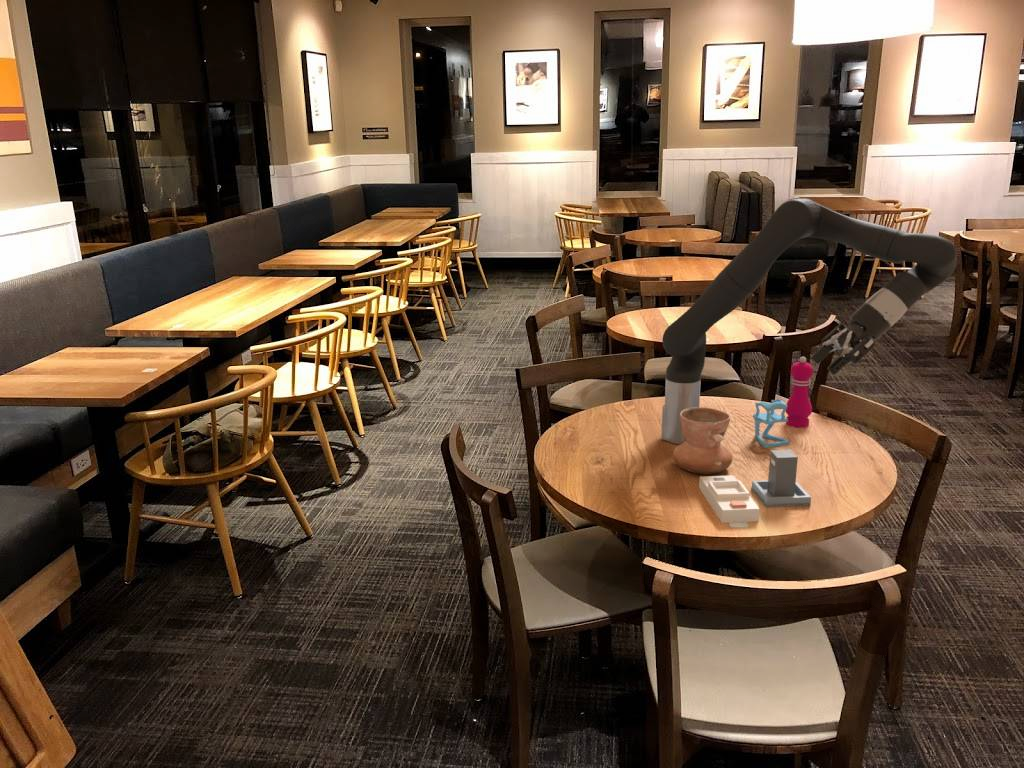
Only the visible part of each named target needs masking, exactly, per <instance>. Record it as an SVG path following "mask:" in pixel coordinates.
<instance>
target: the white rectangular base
mask: <svg viewBox="0 0 1024 768" xmlns="http://www.w3.org/2000/svg"><path fill="white" fill-rule="evenodd" d="M698 485H699V486H698V489H699V490H700V493H702V494H703V497H705V499H706V501H707V503H708V504H709V505H710V507H711V509H712V510H713V511H714V513H715V515H716V516H717V518H718V519H719V520H720V523H721V524H727V523H728V524H729V523H731V524H732V523H752V522H759V521H760V510H761V509H760V508H759V506H758V505H757V503H756V502H755V501H754V500H753V499H752V497H751V496H750V494H751V492H750V491H749V490H748V489H747V488H746V486H745V485H744V484H743V483H742V482H741V480H740V479H737V478H736V477H735V475H734V474H733V475H731V474H730V475H710V476H709V475H708V476H699V484H698Z"/></svg>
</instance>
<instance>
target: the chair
mask: <svg viewBox="0 0 1024 768" xmlns="http://www.w3.org/2000/svg"><path fill="white" fill-rule="evenodd" d="M754 403H755V404H754V405H755V407H756V409H755V410H756V412H755V413H753V414H752V418H753V420H754V432H755V433H754V438H755V439H756V440H757V442H758V443H759V444H760V445H761V446H762V447H763V448H764V449H767V448H776V447H781V446H788V445H790V440H788V439H785V438H782V437H779V436H776V435H773V434H769V432H770V430H771V428H772V427H773V426H774V424H777V423H786V422H787V421H788V418H786V415H785V413H786V408H787V405H786V404H787V403H785V401H784V400H781V399H771V402H770V403H769V402H766V401H760V402H754ZM760 407H762V408H763V409H764V410H765V411H766V412H763V413H760ZM775 410H782V411H781V415H780V414H779V413H777V412H775ZM761 423H762V424H765V425H767V426H766V428H765V429H764V431H763V432H762V436H761V435H760V424H761ZM763 437H764V438H767V439H769V440H772V441H773V440H774V441H776V442H771V443H766V442H765V441H764V439H763Z"/></svg>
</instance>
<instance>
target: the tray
mask: <svg viewBox="0 0 1024 768" xmlns="http://www.w3.org/2000/svg"><path fill="white" fill-rule="evenodd" d="M767 489H768V479H763V480H758V479H757V480H752V481H751V490H752V491H753V492H754V494H756V496H757V497H758V499H760V501H761V502H762V504H764V506H765V507H766V508H773V507H774V508H775V507H776V508H777V507H795V506H797V507H800V506H801V507H802V506H811V503H812V496H811V495H810V494H809V493H808V492H807V491H806V490H805V489H804V487H803V486H801V485H800V484H799V482H797V481H796V483H795V494H794V496H785V497H772V496H771V494H770V493H769V492H768V490H767Z"/></svg>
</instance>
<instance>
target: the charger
mask: <svg viewBox="0 0 1024 768" xmlns="http://www.w3.org/2000/svg"><path fill="white" fill-rule="evenodd" d="M769 451H770V452H769V453H770V455H769V467H768V479H767V480H768V489H767V490H768V492H769V493H770V494H771V496H772V497H785V496H794V494H795V483H796V482H797V480H796V479H797V469H798V462H799V461H798V459H799V457H798V455H796V454H795V452H793V450H791V449H770V450H769Z"/></svg>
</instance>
